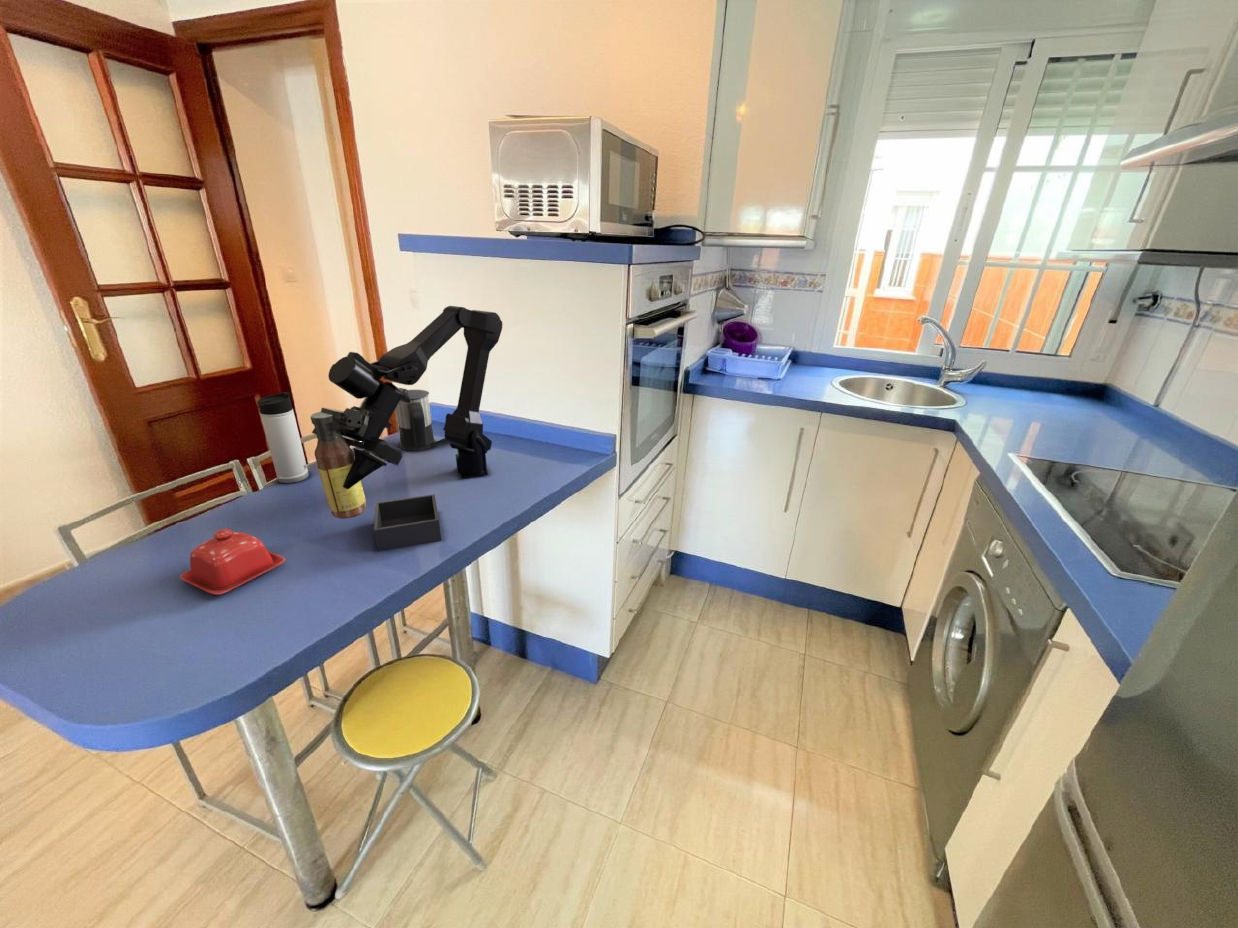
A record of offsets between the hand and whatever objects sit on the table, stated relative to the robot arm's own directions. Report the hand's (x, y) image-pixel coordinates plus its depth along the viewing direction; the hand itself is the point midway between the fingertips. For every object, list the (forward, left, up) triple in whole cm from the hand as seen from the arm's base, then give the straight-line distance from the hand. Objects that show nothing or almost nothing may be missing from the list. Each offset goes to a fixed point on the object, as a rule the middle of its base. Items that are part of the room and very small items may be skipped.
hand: (334, 483), depth 92 cm
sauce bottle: (-1, -1, -7) cm, 7 cm away
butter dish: (+16, +7, -11) cm, 21 cm away
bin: (-11, +2, -11) cm, 16 cm away
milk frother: (-19, -44, -11) cm, 49 cm away
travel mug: (+13, -32, -11) cm, 36 cm away
